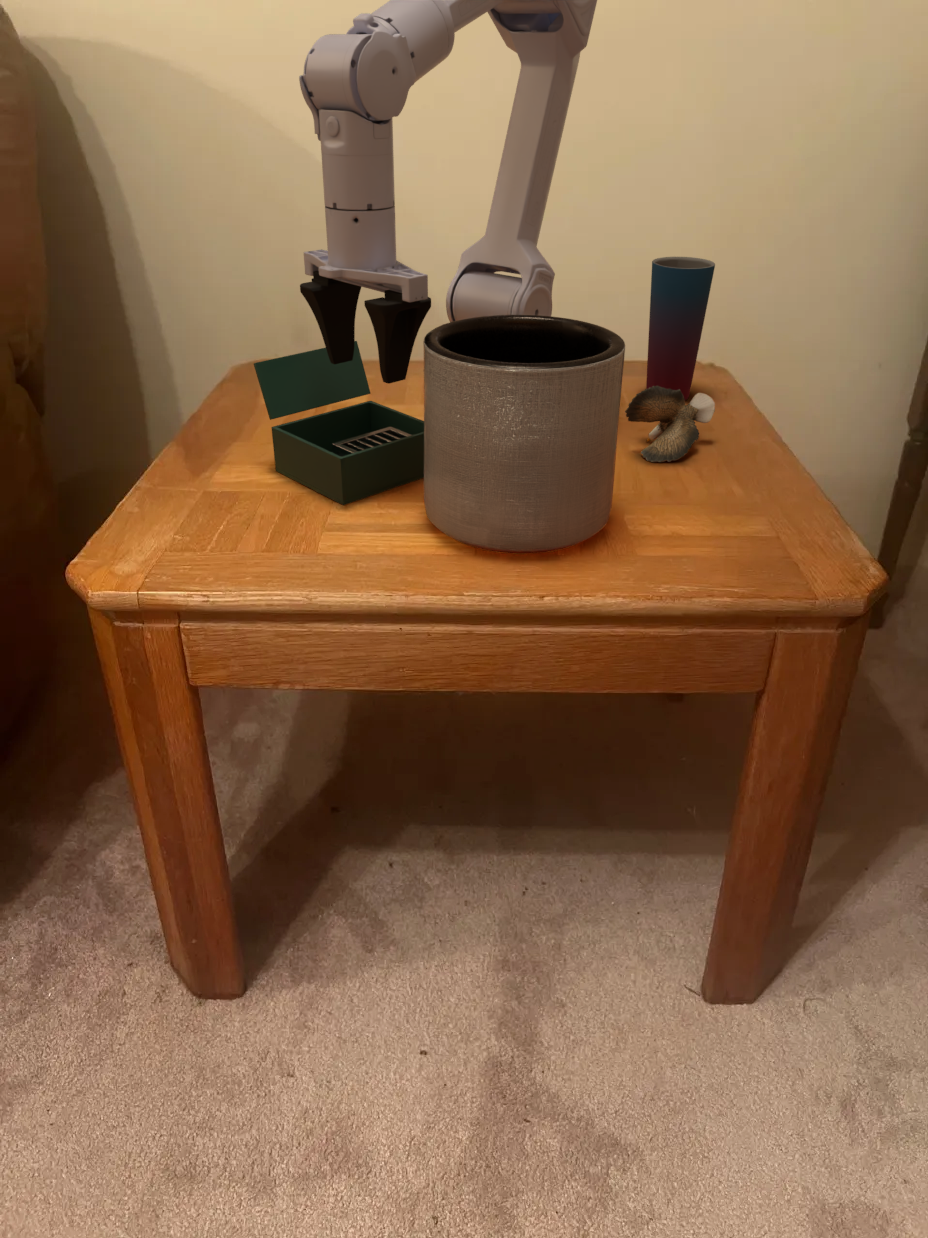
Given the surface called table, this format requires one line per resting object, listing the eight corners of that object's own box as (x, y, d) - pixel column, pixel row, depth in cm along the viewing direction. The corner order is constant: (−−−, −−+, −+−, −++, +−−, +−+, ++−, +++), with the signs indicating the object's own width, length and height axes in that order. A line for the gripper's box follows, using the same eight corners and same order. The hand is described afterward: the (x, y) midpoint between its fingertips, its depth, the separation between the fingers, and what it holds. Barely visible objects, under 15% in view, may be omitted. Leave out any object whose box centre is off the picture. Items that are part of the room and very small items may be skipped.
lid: (271, 419, 88) (269, 419, 88) (370, 393, 95) (368, 393, 95) (255, 362, 86) (253, 363, 87) (356, 340, 93) (354, 341, 94)
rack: (391, 457, 93) (390, 426, 91) (422, 470, 90) (422, 438, 88) (334, 475, 89) (331, 443, 87) (364, 490, 86) (362, 457, 84)
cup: (701, 405, 108) (721, 268, 101) (642, 404, 109) (657, 267, 101) (690, 387, 114) (708, 256, 107) (634, 386, 114) (647, 256, 107)
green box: (275, 470, 91) (271, 426, 88) (372, 441, 97) (370, 400, 95) (343, 505, 84) (340, 458, 82) (442, 471, 91) (442, 427, 88)
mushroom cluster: (634, 415, 102) (605, 424, 94) (680, 363, 98) (653, 369, 90) (685, 464, 101) (659, 478, 93) (732, 414, 97) (710, 424, 89)
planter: (422, 483, 88) (419, 313, 80) (592, 480, 89) (606, 312, 81) (426, 563, 75) (423, 367, 66) (627, 559, 75) (648, 365, 67)
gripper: (269, 200, 79) (283, 361, 86) (376, 221, 70) (383, 399, 77) (337, 193, 83) (345, 347, 90) (447, 212, 74) (447, 382, 81)
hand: (367, 370), depth 84 cm, fingers open, 7 cm apart
